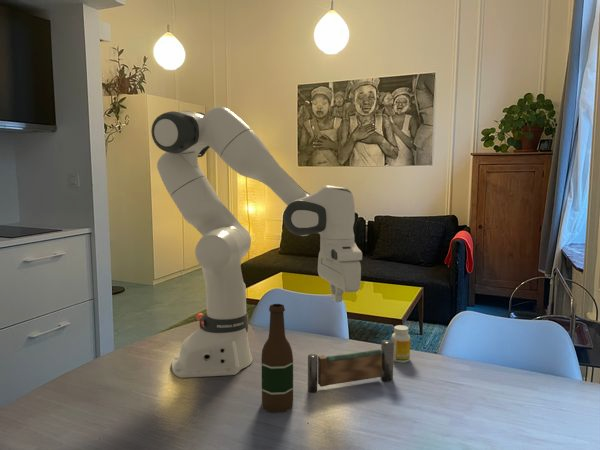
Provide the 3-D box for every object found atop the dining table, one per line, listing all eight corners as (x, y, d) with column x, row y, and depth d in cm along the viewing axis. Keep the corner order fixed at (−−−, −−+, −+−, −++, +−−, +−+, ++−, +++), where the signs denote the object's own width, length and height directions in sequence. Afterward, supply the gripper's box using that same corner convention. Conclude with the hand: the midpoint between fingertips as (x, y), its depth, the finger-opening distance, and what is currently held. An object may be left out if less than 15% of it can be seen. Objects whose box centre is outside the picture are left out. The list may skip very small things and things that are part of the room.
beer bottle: (268, 417, 102) (268, 312, 99) (255, 401, 109) (254, 303, 106) (299, 408, 105) (300, 307, 103) (285, 394, 112) (284, 298, 109)
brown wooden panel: (377, 373, 121) (378, 347, 120) (381, 377, 119) (382, 350, 118) (317, 383, 115) (318, 355, 115) (320, 386, 114) (320, 358, 113)
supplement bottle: (387, 358, 134) (387, 326, 132) (398, 354, 137) (399, 323, 136) (401, 364, 129) (402, 332, 128) (413, 359, 133) (414, 327, 132)
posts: (389, 375, 123) (390, 339, 121) (395, 380, 120) (396, 343, 118) (305, 388, 115) (305, 350, 114) (310, 394, 112) (310, 355, 111)
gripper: (312, 243, 127) (312, 291, 129) (341, 256, 108) (341, 313, 110) (333, 241, 129) (332, 289, 131) (365, 254, 110) (365, 310, 111)
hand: (336, 300), depth 120 cm, fingers closed
